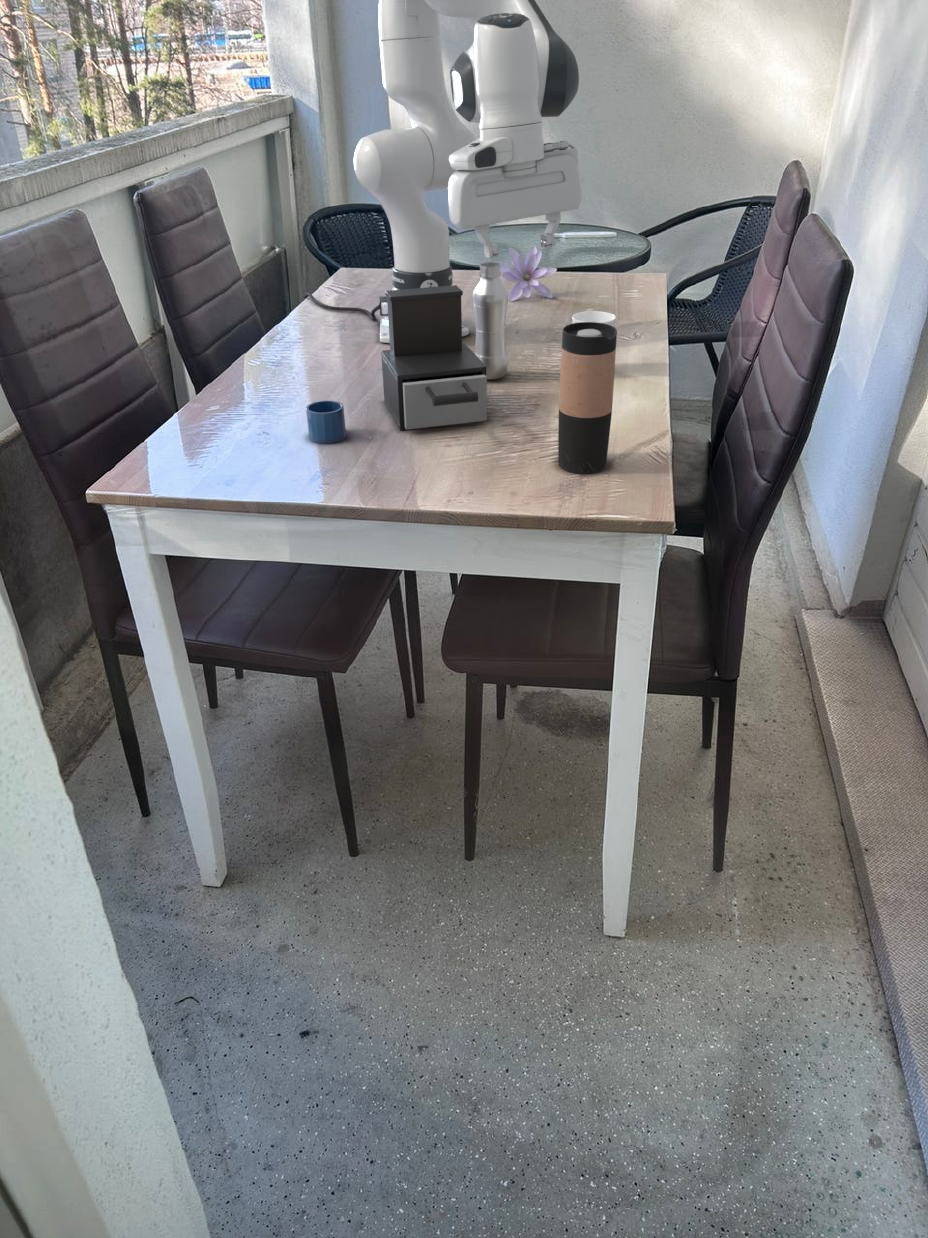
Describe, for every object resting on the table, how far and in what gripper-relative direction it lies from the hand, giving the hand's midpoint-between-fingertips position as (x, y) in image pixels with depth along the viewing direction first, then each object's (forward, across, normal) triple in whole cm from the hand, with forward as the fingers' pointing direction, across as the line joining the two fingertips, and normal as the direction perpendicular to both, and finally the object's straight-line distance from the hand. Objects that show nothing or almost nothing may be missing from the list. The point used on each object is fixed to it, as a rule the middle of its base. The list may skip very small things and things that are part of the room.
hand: (520, 251), depth 141 cm
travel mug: (+29, 0, +16) cm, 33 cm away
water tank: (+16, +10, -18) cm, 26 cm away
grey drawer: (+25, +12, -8) cm, 29 cm away
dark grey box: (+25, +11, -14) cm, 31 cm away
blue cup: (+24, +31, -12) cm, 41 cm away
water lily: (+23, -38, -73) cm, 86 cm away
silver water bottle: (+25, -5, -26) cm, 36 cm away
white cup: (+27, -23, -20) cm, 41 cm away
